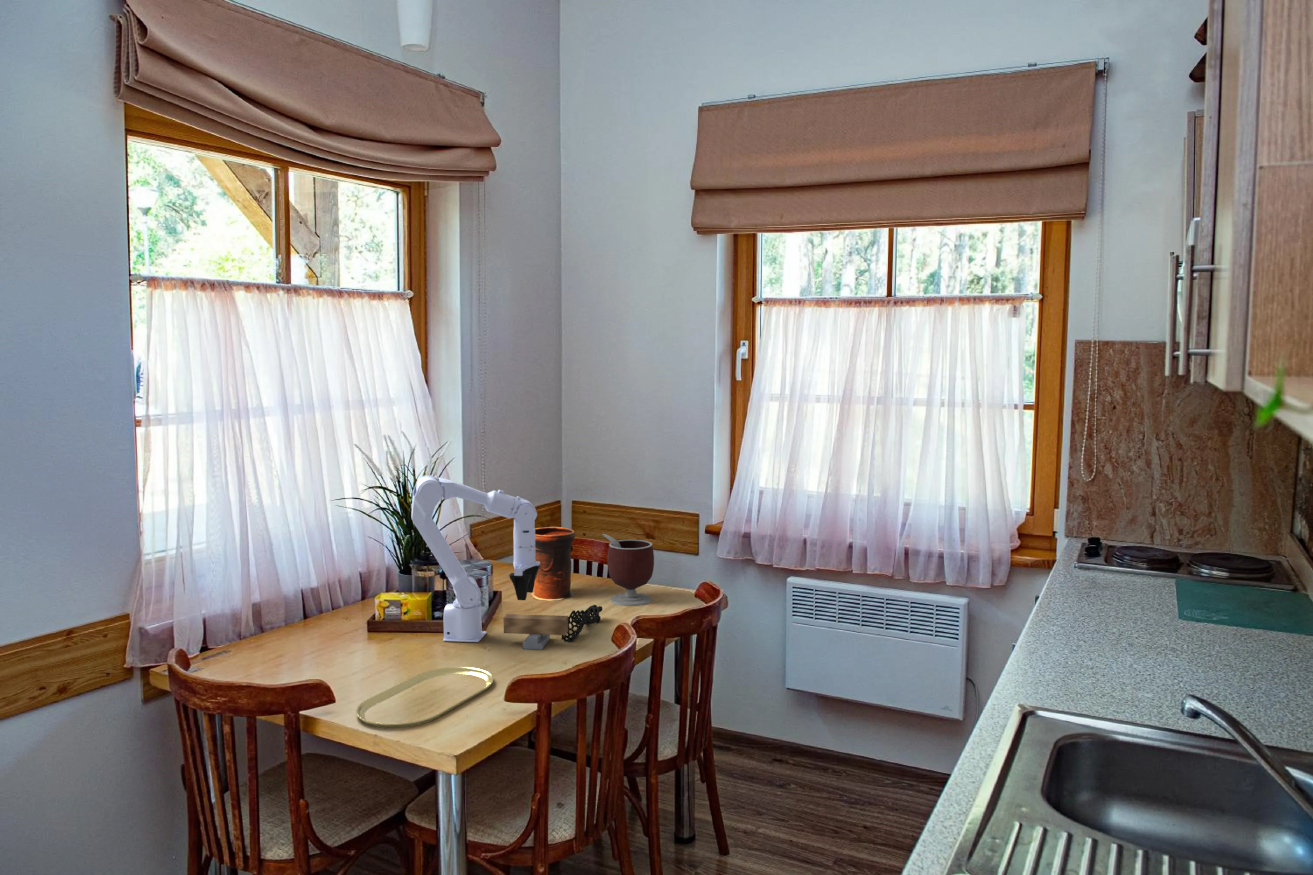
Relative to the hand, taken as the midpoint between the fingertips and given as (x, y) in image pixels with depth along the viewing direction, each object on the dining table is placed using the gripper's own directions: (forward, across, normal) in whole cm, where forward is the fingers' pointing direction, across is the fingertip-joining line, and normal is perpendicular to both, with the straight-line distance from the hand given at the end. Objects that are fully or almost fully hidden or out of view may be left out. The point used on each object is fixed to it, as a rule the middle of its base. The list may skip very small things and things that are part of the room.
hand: (525, 595), depth 253 cm
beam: (+7, -9, -5) cm, 12 cm away
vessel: (+10, +38, +1) cm, 39 cm away
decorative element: (+10, +4, -15) cm, 18 cm away
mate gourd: (+10, +34, -23) cm, 42 cm away
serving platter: (+11, -48, +10) cm, 50 cm away
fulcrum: (+10, -9, -5) cm, 14 cm away
